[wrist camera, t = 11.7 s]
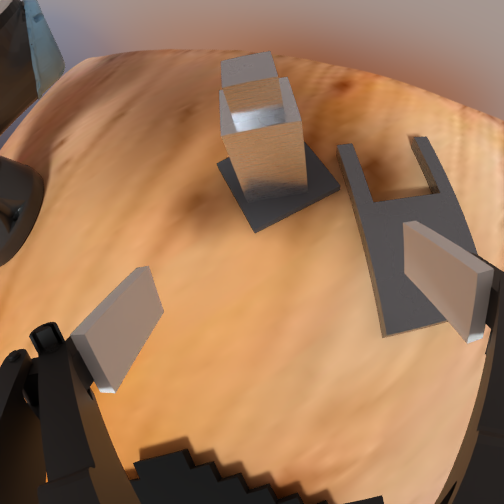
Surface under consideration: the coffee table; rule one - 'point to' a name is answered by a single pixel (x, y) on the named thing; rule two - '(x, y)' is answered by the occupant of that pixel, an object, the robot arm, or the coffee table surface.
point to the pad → (282, 207)
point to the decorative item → (197, 484)
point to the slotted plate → (392, 240)
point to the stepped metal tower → (262, 128)
